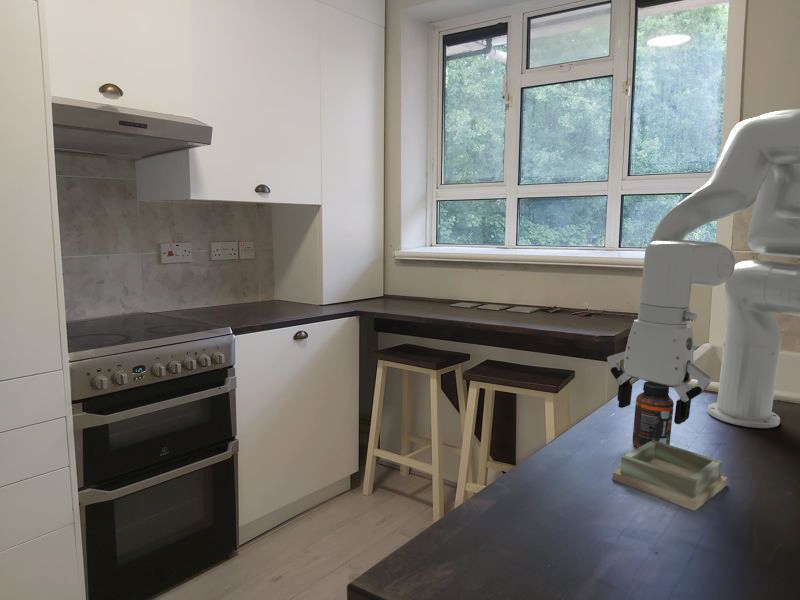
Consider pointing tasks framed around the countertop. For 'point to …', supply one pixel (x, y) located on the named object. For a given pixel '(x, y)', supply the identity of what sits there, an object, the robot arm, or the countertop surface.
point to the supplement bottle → (653, 415)
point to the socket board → (672, 474)
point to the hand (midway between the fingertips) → (651, 414)
